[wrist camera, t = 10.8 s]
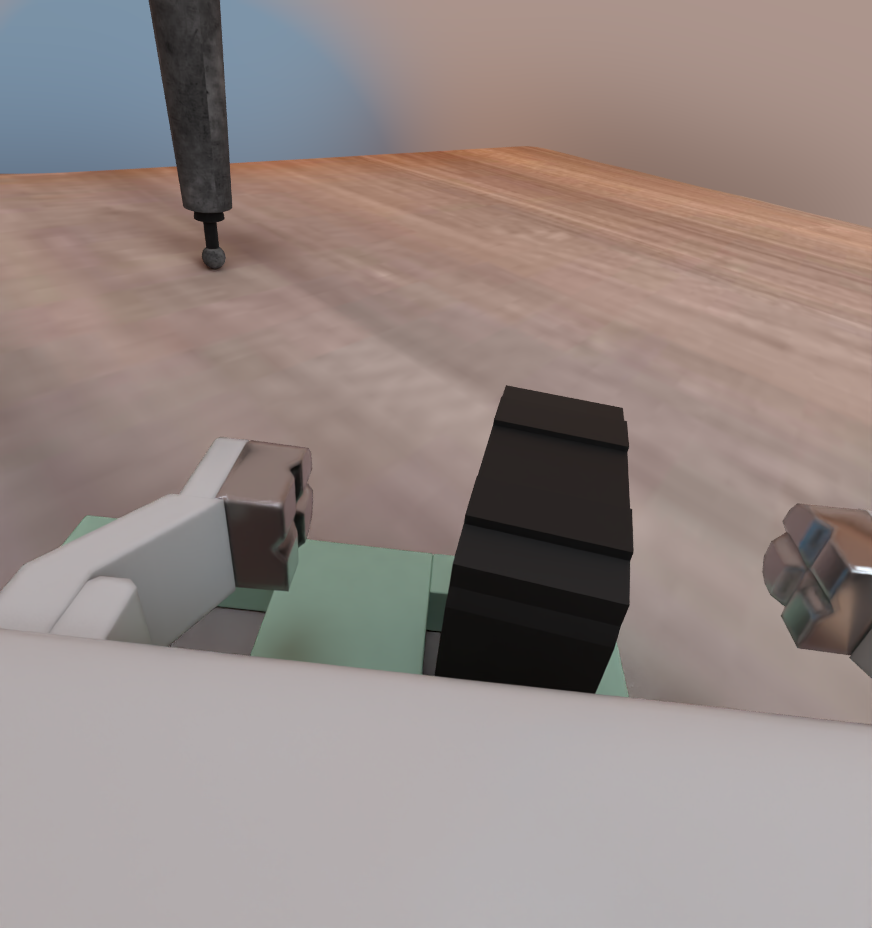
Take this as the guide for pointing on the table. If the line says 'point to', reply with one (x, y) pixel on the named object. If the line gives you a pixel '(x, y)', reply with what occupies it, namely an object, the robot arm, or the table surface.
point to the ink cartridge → (542, 548)
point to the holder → (356, 608)
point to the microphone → (196, 109)
